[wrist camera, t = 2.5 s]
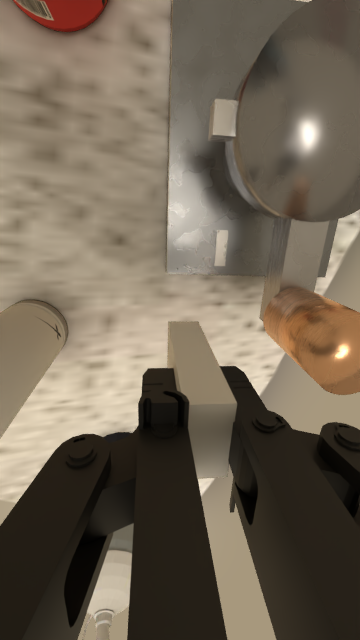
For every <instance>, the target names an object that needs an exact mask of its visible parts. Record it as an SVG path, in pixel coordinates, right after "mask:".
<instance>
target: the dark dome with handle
mask: <svg viewBox="0 0 360 640" xmlns="http://www.w3.org/2000/svg"><path fill="white" fill-rule="evenodd" d="M208 141H218V142H225V146H226V157H227V162H228V167H229V170H230V173H231V176H232V179H233V181H234V183H235V185H236V187H237V189H238V190H239V192H240V194H241V195H242V197H243V198H244V199H245V200H246V201H247V202H248V204H250V205H251V206H252V207H253V208H254V209H255V210H257V211H258V212H260V213H261V214H263V215H265V216H267V217H270V218H272V219H274V225H273V232H272V238H271V245H270V251H269V258H268V265H267V271H266V278H265V284H264V291H263V298H262V304H261V311H260V319H261V320H262V321H263V323H264V328H265V330H266V332H267V334H268V335H269V336H270V337H271V338H272V339H273V340H274V341H275V342H276V343H277V344H278V345H279V346H280V347H281V348H282V349H283V350H284V351H285V352H286V353H287V354H288V355H289V356H290V357H291V358H292V359H293V360H294V361H295V362H296V363H297V364H298V365H300V366H301V367H302V368H303V369H304V370H305V371H306V372H307V373H308V374H309V375H310V376H311V377H312V378H313V379H314V380H315V381H316V382H317V383H318V384H319V385H320V386H321V387H322V388H323V389H325V390H326V391H328V392H330V393H333V394H338V395H347V394H353V393H357V392H360V313H359V312H357V311H355V310H353V309H350V308H348V307H346V306H344V305H341V304H339V303H337V302H335V301H332V300H330V299H328V298H326V297H323V296H321V295H319V294H317V293H314V289H315V285H316V280H317V276H318V271H319V266H320V262H321V257H322V253H323V248H324V244H325V239H326V234H327V230H328V225H329V221H331V220H336V219H339V218H342V217H345V216H347V215H350V214H352V213H354V212H356V211H357V210H359V209H360V0H312V1H310V2H308V3H306V4H304V5H303V6H302V7H300V8H299V9H297V10H296V11H295V12H293V13H292V14H291V15H290V16H289V17H288V18H287V19H286V20H284V21H283V22H282V23H281V24H280V25H279V27H278V28H277V29H276V30H275V31H274V33H273V34H272V35H271V36H270V38H269V39H268V41H267V42H266V44H265V45H264V47H263V48H262V50H261V51H260V53H259V54H258V56H257V57H256V59H255V60H254V62H253V64H252V65H251V67H250V68H249V70H248V71H247V73H246V74H245V76H244V77H243V79H242V80H241V82H240V84H239V86H238V88H237V90H236V92H235V95H234V97H233V100H225V99H215V100H214V102H213V104H212V105H211V107H210V122H209V137H208Z"/></svg>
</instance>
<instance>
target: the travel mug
mask: <svg viewBox="0 0 360 640" xmlns="http://www.w3.org/2000/svg"><path fill="white" fill-rule="evenodd" d="M67 336H68V329H67V325H66V322H65V320H64V318H63V316H62V315H61V314H60V313H59V312H58V311H57V310H56V309H55V308H54V307H52V306H50V305H49V304H46V303H44V302H41V301H36V300H25V301H21V302H18V303H16V304H14V305H12V306H11V307H9V308H7V309H6V310H4V311H3V312H1V313H0V438H1V437H2V435H3V434H4V432H5V431H6V429H7V428H8V426H9V425H10V424H11V422H12V421H13V419H14V418H15V416H16V415H17V413H18V412H19V410H20V409H21V407H22V406H23V405H24V403H25V402H26V400H27V399H28V397H29V396H30V394H31V393H32V391H33V390H34V388H35V387H36V385H37V384H38V383H39V381H40V380H41V378H42V377H43V375H44V374H45V372H46V371H47V369H48V368H49V366H50V365H51V363H52V362H53V361H54V359H55V358H56V356H57V355H58V353H59V352H60V350H61V349H62V347H63V346H64V344H65V342H66V340H67Z"/></svg>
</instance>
